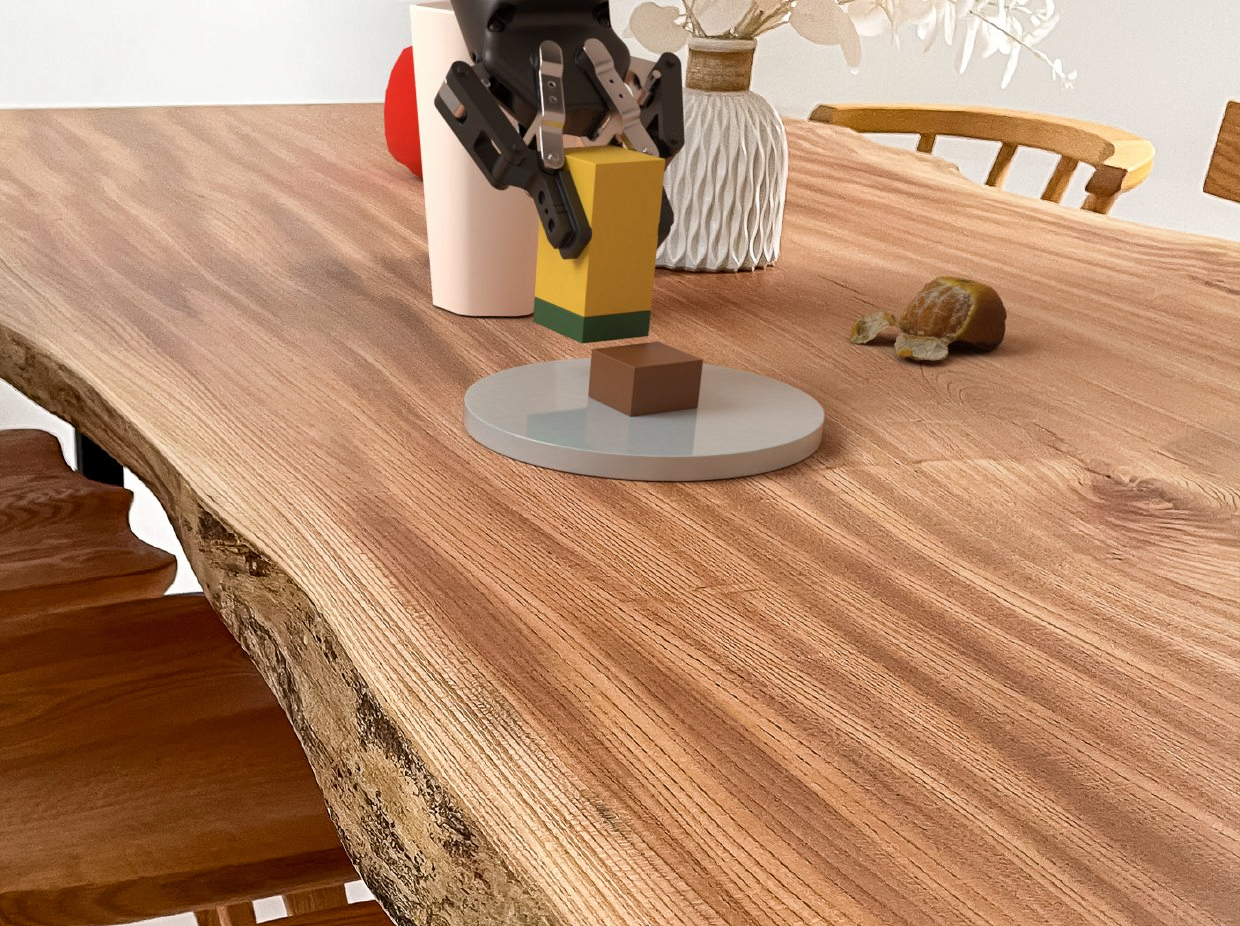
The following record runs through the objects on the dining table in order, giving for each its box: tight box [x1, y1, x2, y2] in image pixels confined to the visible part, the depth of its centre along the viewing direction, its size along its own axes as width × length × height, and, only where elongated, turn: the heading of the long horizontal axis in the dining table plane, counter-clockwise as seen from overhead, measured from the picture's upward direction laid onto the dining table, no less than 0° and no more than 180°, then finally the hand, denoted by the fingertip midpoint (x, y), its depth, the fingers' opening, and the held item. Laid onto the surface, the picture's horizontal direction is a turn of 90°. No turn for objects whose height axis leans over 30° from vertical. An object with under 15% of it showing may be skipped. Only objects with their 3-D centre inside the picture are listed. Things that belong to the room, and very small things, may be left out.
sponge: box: [532, 145, 665, 345], centre depth 90 cm, size 5×4×8 cm
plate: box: [462, 357, 826, 482], centre depth 89 cm, size 18×18×1 cm
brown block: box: [588, 341, 704, 417], centre depth 88 cm, size 4×4×2 cm
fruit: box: [849, 276, 1008, 362], centre depth 103 cm, size 8×8×4 cm
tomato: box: [383, 44, 423, 180], centre depth 152 cm, size 14×13×10 cm
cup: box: [409, 0, 579, 317], centre depth 108 cm, size 11×10×17 cm
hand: (618, 244), depth 88 cm, fingers closed on sponge, 4 cm apart
